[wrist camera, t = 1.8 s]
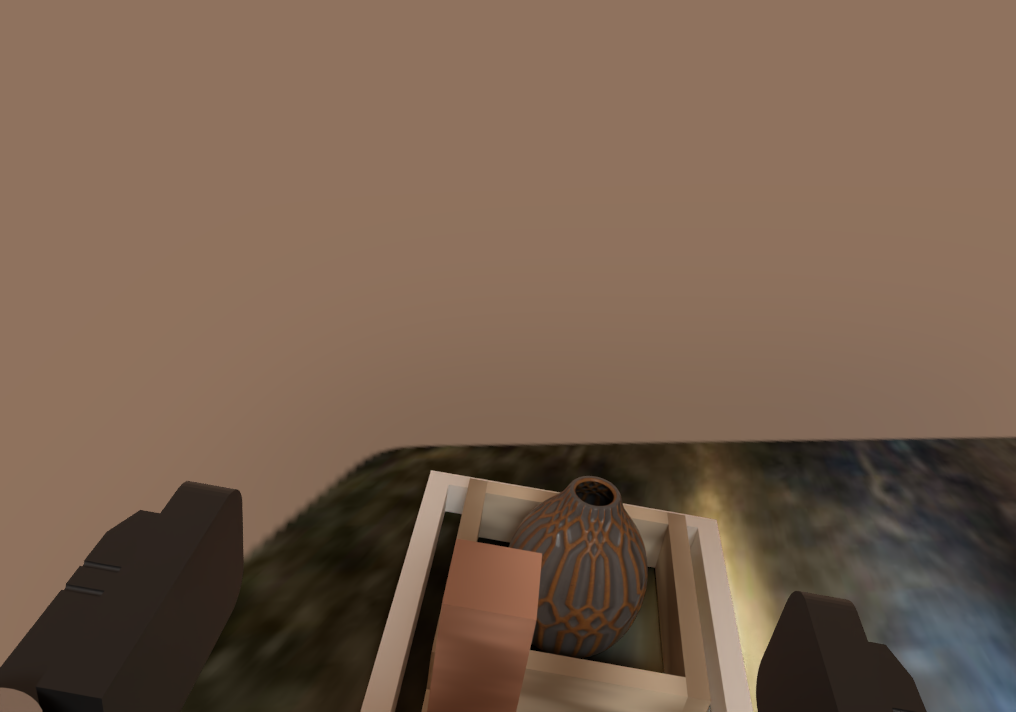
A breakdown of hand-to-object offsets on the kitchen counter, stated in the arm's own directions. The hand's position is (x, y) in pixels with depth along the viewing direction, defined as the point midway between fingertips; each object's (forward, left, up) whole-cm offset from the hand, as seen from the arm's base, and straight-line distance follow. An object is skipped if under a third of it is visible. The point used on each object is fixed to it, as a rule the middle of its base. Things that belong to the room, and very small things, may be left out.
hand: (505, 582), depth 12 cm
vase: (-4, -21, -23) cm, 32 cm away
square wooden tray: (-4, -18, -23) cm, 30 cm away
